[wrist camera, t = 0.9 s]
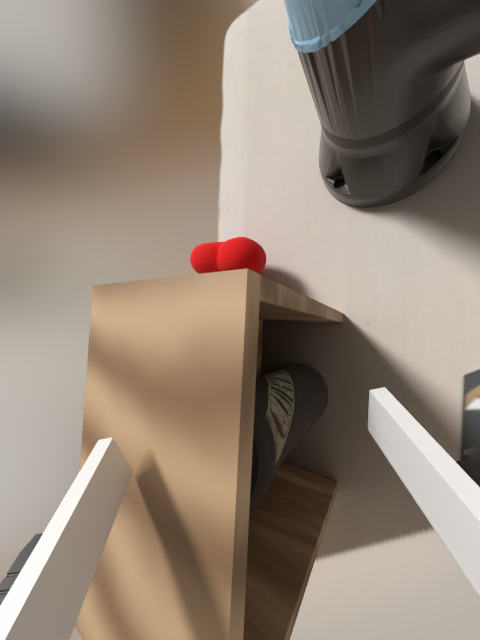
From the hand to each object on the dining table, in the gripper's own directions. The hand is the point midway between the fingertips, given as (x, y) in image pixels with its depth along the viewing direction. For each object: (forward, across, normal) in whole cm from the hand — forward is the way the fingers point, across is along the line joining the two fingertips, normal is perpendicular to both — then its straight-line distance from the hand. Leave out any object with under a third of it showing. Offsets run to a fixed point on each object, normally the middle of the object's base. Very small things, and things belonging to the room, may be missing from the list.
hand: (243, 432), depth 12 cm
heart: (+31, +4, +2) cm, 31 cm away
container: (+18, +7, -15) cm, 24 cm away
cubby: (+18, +6, -15) cm, 24 cm away
